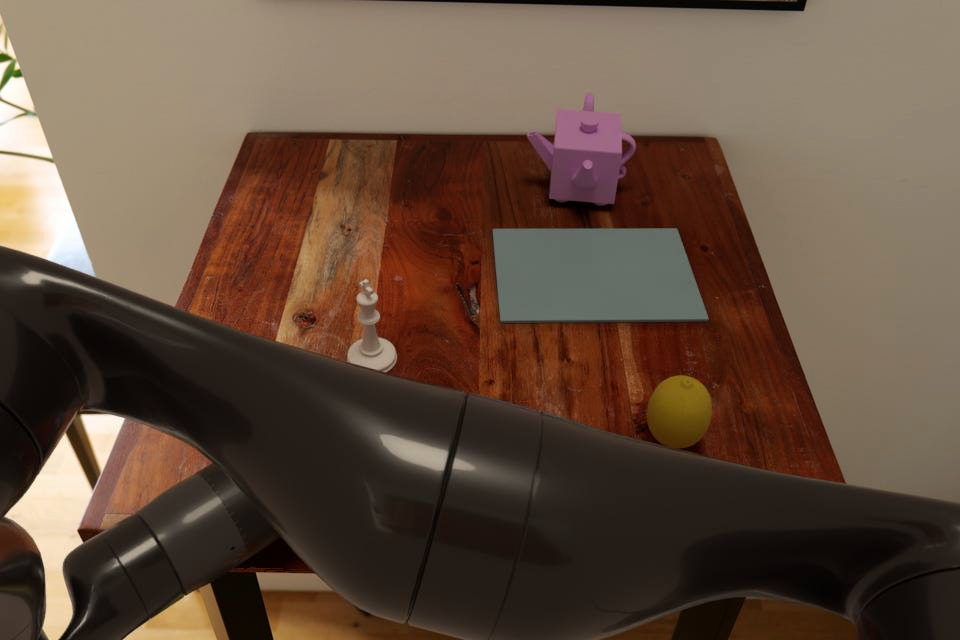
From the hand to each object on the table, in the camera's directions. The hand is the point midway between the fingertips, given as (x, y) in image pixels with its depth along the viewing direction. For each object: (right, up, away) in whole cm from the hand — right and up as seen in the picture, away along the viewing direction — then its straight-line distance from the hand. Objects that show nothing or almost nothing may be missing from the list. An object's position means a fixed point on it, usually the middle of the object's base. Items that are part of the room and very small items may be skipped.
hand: (395, 407), depth 72 cm
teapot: (+19, +24, +36) cm, 47 cm away
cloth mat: (+20, +12, +23) cm, 33 cm away
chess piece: (-4, +3, +13) cm, 14 cm away
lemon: (+25, -4, +6) cm, 26 cm away
